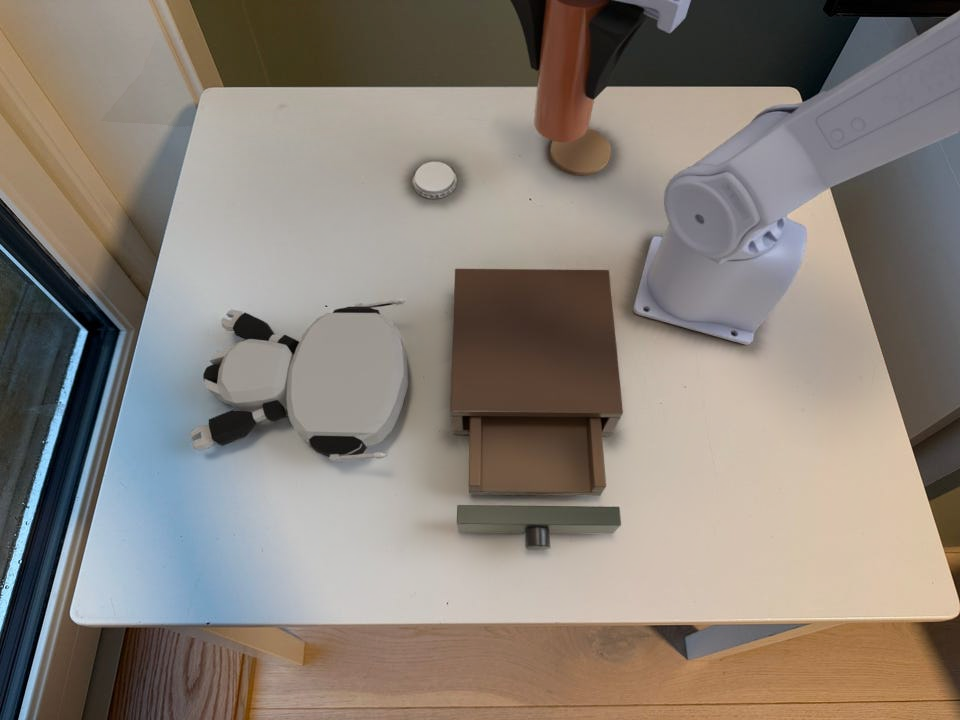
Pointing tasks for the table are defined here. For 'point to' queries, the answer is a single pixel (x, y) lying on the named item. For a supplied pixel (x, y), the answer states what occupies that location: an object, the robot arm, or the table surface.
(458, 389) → the cabinet
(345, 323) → the robot toy
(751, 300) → the robot arm
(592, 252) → the table surface
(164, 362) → the table surface
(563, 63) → the orange cylinder post
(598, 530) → the drawer
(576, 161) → the coaster
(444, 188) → the white bottle cap
